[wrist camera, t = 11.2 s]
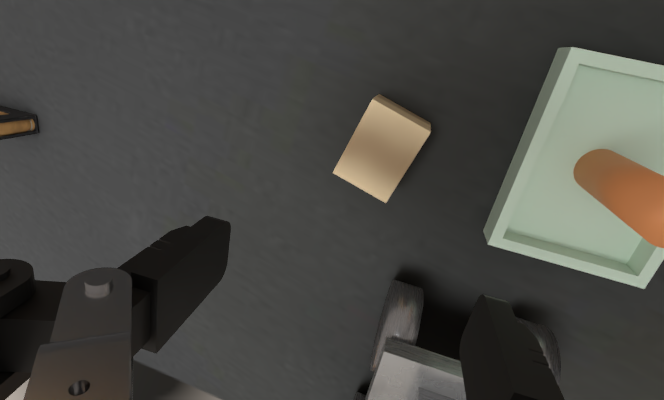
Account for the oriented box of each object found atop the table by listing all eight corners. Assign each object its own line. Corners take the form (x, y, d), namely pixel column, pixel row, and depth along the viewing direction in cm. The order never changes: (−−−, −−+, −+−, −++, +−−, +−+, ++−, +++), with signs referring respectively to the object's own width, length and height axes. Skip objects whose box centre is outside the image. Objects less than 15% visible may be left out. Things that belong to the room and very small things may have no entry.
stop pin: (585, 144, 26) (659, 183, 17) (631, 155, 25) (730, 201, 17) (565, 183, 27) (627, 238, 18) (610, 195, 26) (692, 256, 18)
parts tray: (558, 48, 25) (571, 46, 22) (741, 85, 23) (775, 88, 21) (482, 230, 30) (487, 244, 28) (626, 270, 29) (644, 289, 26)
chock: (379, 93, 28) (372, 98, 25) (430, 122, 28) (430, 131, 25) (343, 159, 31) (332, 172, 27) (390, 186, 31) (385, 203, 27)
